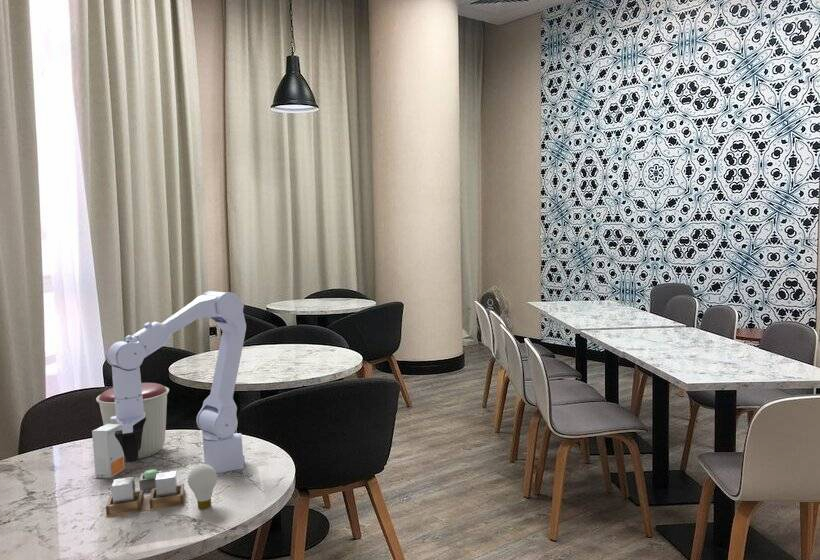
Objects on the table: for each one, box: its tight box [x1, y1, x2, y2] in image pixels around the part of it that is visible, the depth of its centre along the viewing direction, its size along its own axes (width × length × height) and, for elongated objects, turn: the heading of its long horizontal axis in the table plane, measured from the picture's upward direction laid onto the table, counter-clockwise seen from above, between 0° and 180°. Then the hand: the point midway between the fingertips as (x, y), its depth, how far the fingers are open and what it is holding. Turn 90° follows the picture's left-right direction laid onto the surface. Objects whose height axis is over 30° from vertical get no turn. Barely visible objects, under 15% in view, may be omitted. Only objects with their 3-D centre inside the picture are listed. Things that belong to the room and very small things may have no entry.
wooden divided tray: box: [104, 483, 186, 518], centre depth 146 cm, size 16×8×3 cm, turn 107°
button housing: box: [138, 470, 163, 492], centre depth 156 cm, size 5×5×4 cm
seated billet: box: [155, 470, 178, 498], centre depth 147 cm, size 4×4×6 cm
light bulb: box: [187, 463, 218, 510], centre depth 143 cm, size 6×6×10 cm
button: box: [143, 468, 158, 479], centre depth 156 cm, size 3×3×4 cm
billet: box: [111, 476, 136, 504], centre depth 145 cm, size 4×4×6 cm
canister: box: [95, 382, 170, 461], centre depth 181 cm, size 18×18×21 cm
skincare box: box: [91, 424, 126, 479], centre depth 167 cm, size 6×4×12 cm
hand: (133, 455), depth 151 cm, fingers open, 7 cm apart
